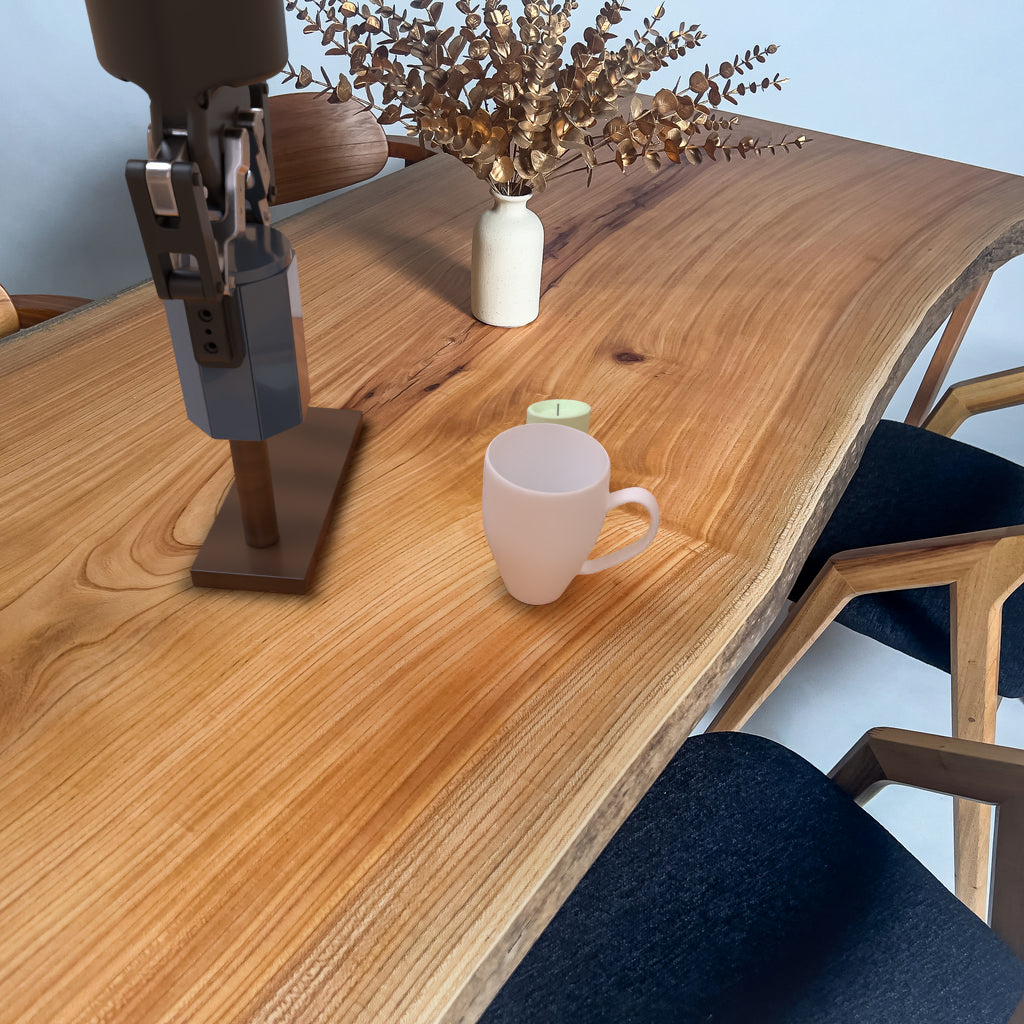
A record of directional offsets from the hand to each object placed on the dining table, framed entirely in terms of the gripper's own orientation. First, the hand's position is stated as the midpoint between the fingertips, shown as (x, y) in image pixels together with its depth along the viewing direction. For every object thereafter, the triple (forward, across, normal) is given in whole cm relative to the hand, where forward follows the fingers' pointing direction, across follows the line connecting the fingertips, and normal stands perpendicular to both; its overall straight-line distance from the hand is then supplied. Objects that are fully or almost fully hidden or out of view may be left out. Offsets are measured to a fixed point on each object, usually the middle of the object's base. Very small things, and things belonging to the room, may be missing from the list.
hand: (237, 329), depth 45 cm
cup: (+5, 0, 0) cm, 5 cm away
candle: (+24, -19, +18) cm, 36 cm away
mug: (+24, -6, +18) cm, 31 cm away
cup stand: (+23, -16, -3) cm, 28 cm away
